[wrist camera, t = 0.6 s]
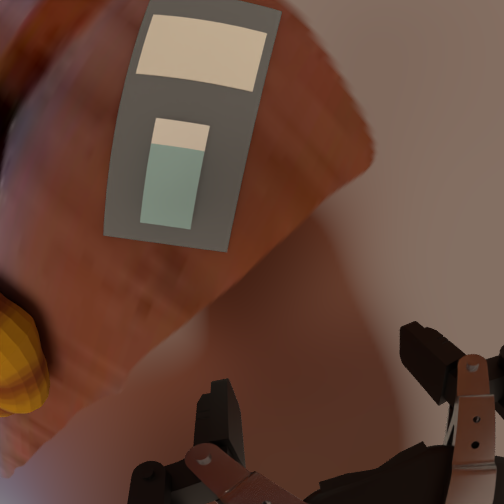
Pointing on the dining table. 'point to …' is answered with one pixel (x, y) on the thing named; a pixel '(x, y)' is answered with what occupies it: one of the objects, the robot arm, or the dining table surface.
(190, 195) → the two-tone rectangular block
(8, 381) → the decorative pumpkin
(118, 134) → the mat
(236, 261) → the dining table surface
